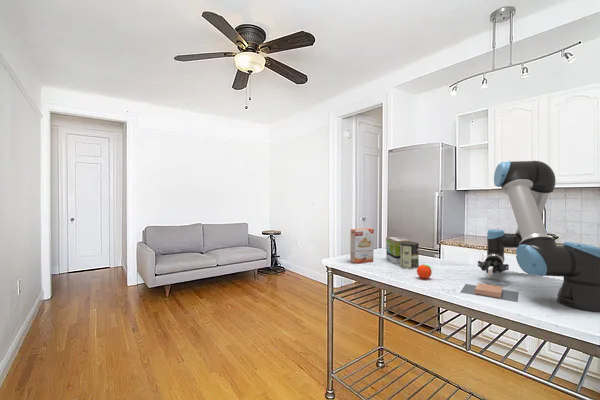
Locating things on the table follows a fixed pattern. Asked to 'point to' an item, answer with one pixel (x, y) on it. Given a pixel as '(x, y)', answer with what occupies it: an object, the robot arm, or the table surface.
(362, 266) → the table surface
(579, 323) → the table surface
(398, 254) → the tea box
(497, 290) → the tile
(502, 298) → the mat
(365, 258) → the cracker box
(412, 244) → the coffee can
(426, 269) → the clementine
